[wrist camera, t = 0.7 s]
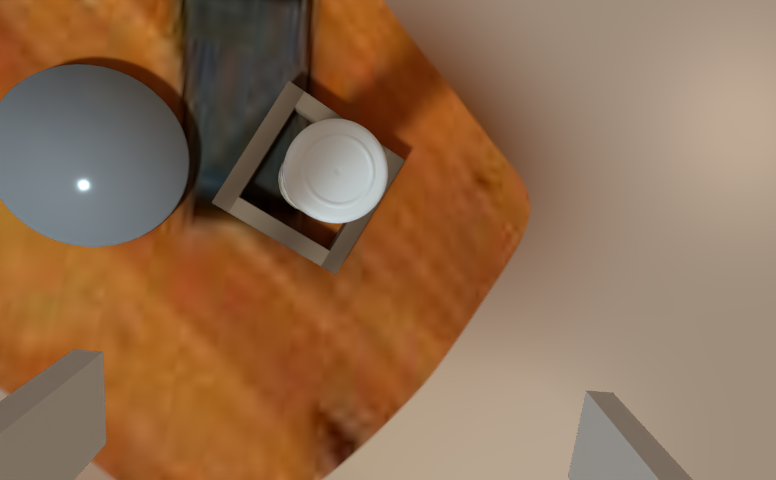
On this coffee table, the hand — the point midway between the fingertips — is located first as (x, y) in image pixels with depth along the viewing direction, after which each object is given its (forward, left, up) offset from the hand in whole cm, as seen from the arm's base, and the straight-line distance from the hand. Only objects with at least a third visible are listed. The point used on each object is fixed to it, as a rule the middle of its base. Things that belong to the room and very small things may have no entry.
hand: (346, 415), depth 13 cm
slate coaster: (-15, +1, -21) cm, 26 cm away
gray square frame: (-3, +7, -21) cm, 22 cm away
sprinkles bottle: (-3, +7, -22) cm, 23 cm away
